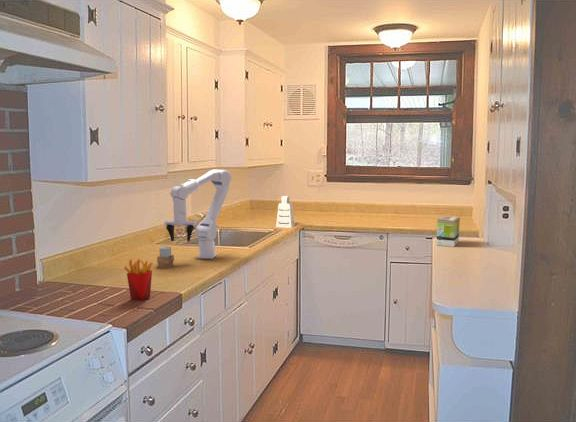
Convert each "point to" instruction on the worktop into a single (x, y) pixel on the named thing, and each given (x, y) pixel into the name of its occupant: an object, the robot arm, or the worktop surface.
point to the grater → (285, 213)
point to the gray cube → (165, 251)
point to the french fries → (139, 280)
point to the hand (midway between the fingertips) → (180, 240)
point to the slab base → (165, 265)
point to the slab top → (165, 259)
